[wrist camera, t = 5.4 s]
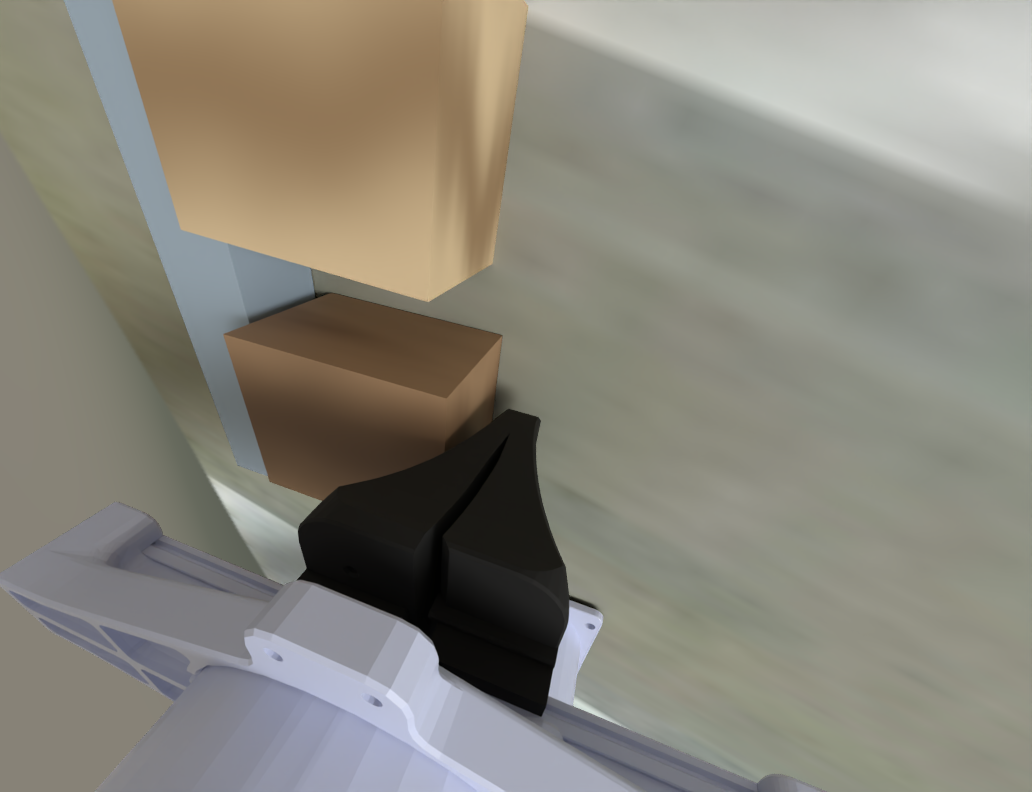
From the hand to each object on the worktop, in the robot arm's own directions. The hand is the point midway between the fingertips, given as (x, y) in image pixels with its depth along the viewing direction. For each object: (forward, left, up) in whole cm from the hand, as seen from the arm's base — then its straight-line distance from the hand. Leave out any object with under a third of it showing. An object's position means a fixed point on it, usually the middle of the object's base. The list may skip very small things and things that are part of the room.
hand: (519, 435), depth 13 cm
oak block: (+8, +6, -2) cm, 10 cm away
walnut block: (0, +5, -1) cm, 5 cm away
